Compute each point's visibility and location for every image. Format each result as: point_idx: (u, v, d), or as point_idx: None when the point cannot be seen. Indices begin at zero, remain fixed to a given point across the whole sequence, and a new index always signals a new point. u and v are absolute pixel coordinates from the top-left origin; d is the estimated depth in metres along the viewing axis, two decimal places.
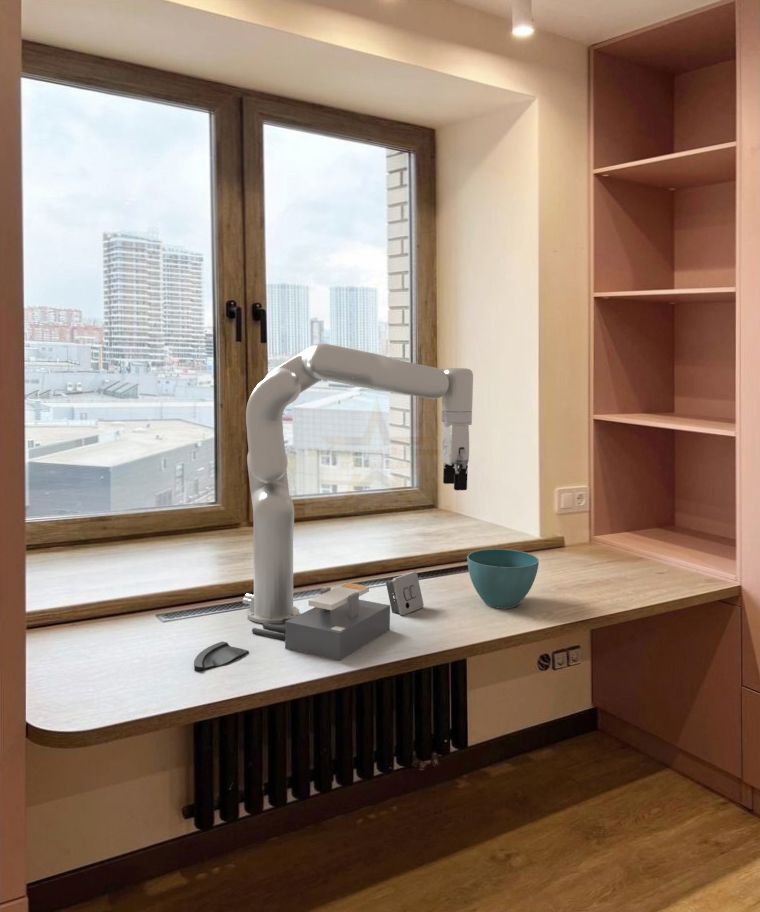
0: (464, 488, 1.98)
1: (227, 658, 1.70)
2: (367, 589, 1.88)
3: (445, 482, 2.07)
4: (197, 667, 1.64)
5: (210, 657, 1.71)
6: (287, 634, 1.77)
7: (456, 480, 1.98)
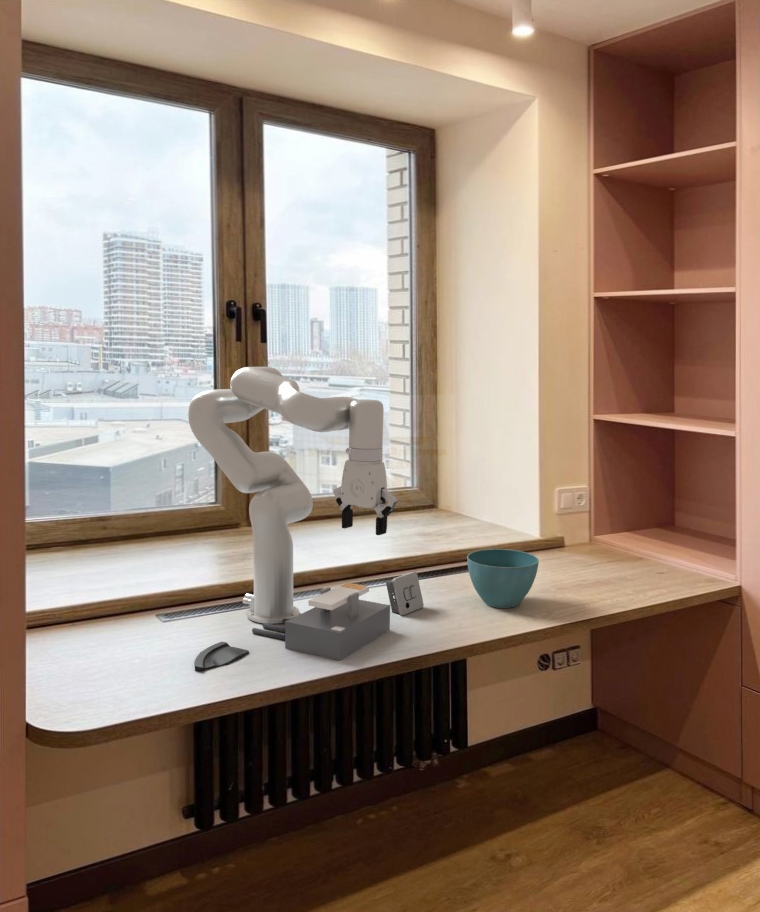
0: (384, 531, 1.81)
1: (227, 658, 1.70)
2: (367, 589, 1.88)
3: (345, 527, 1.85)
4: (198, 667, 1.64)
5: (210, 658, 1.70)
6: (287, 634, 1.77)
7: (379, 524, 1.79)
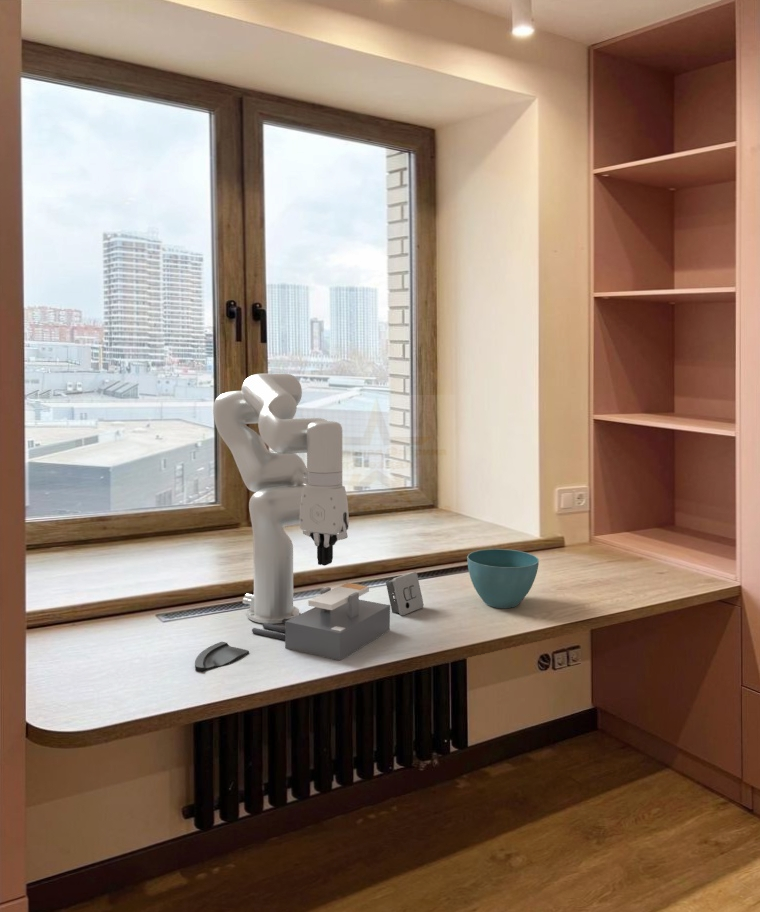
0: (330, 561, 1.76)
1: (228, 658, 1.70)
2: (367, 589, 1.88)
3: (321, 563, 1.74)
4: (198, 668, 1.64)
5: (210, 658, 1.70)
6: (287, 634, 1.77)
7: (325, 554, 1.74)
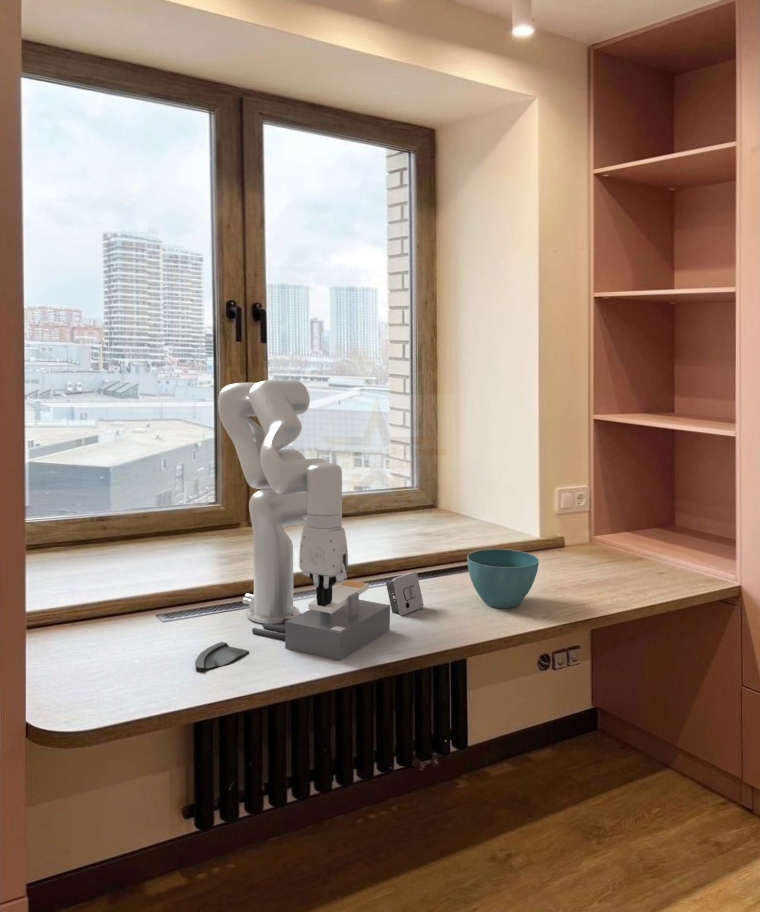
0: (329, 601, 1.77)
1: (228, 658, 1.70)
2: (367, 586, 1.87)
3: (320, 603, 1.76)
4: (199, 668, 1.64)
5: (211, 658, 1.70)
6: (287, 634, 1.77)
7: (324, 595, 1.75)
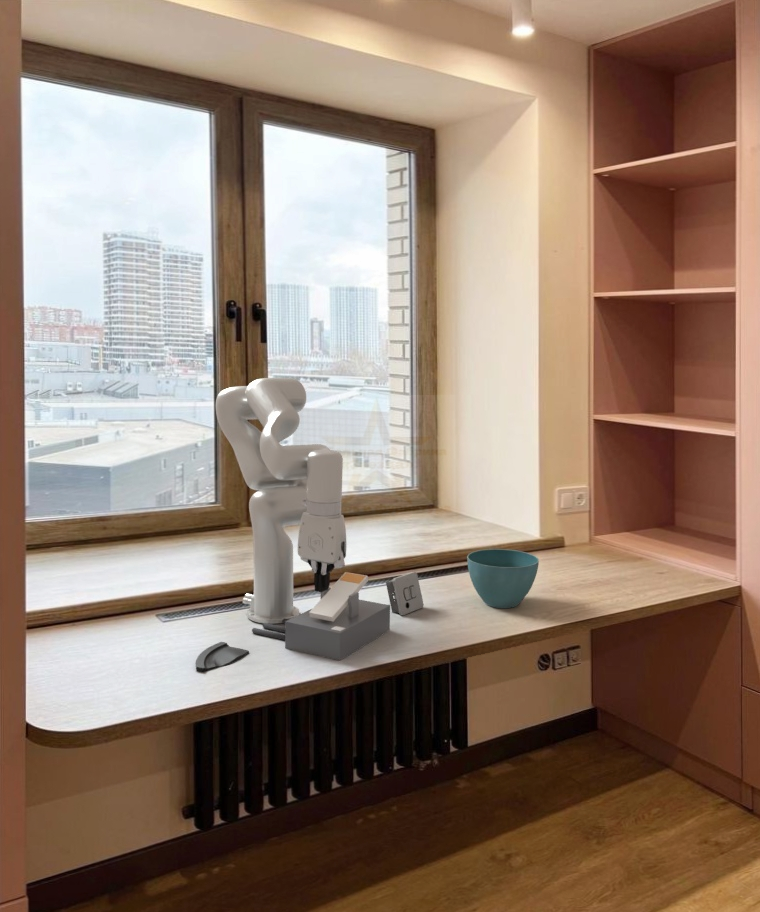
0: (327, 587, 1.78)
1: (228, 658, 1.70)
2: (366, 578, 1.87)
3: (318, 589, 1.76)
4: (199, 668, 1.64)
5: (211, 658, 1.70)
6: (287, 634, 1.77)
7: (322, 581, 1.76)
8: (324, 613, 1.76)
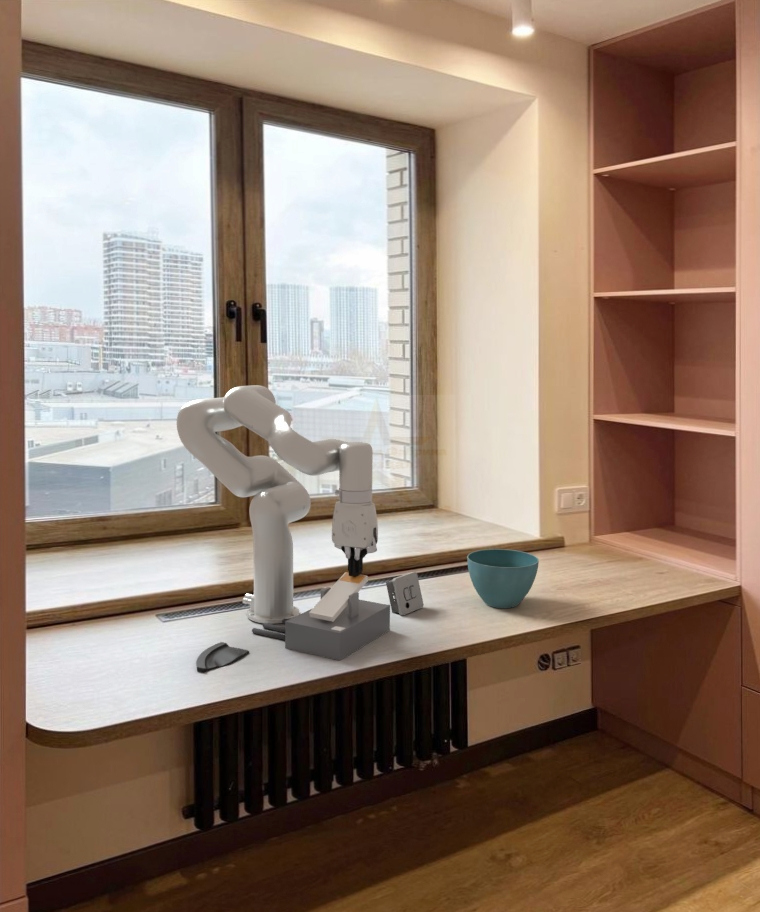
0: (360, 572, 1.88)
1: (228, 658, 1.70)
2: (366, 578, 1.87)
3: (352, 574, 1.87)
4: (200, 668, 1.64)
5: (211, 658, 1.70)
6: (287, 634, 1.77)
7: (355, 566, 1.86)
8: (324, 613, 1.76)
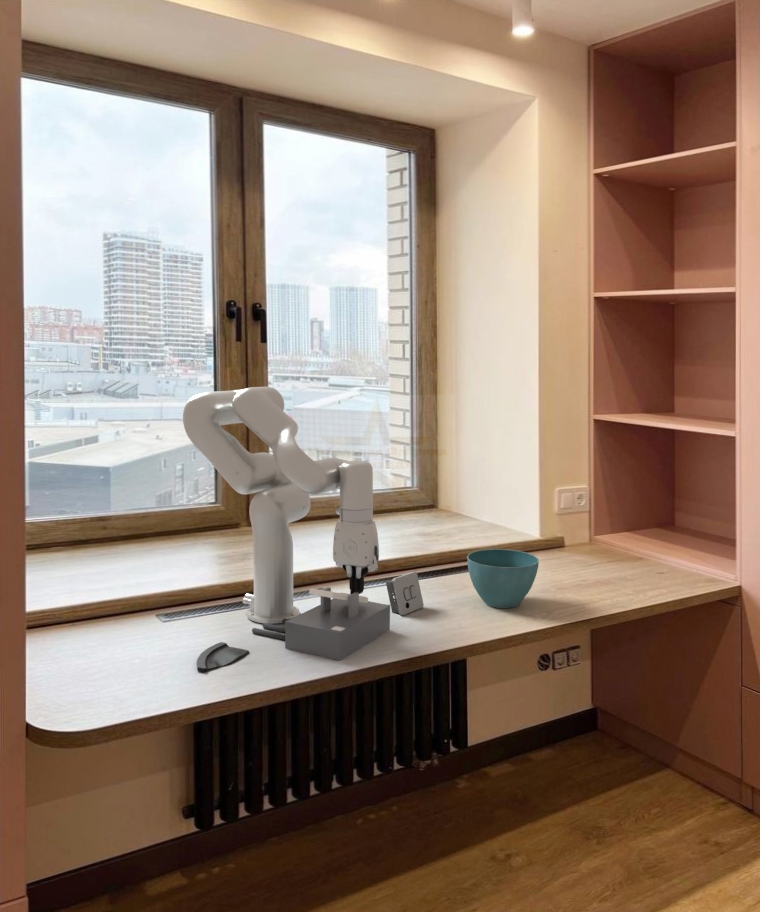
0: (361, 591, 1.89)
1: (229, 658, 1.70)
2: (366, 599, 1.88)
3: None
4: (201, 668, 1.64)
5: (211, 658, 1.70)
6: (287, 634, 1.77)
7: (357, 584, 1.87)
8: (325, 591, 1.76)
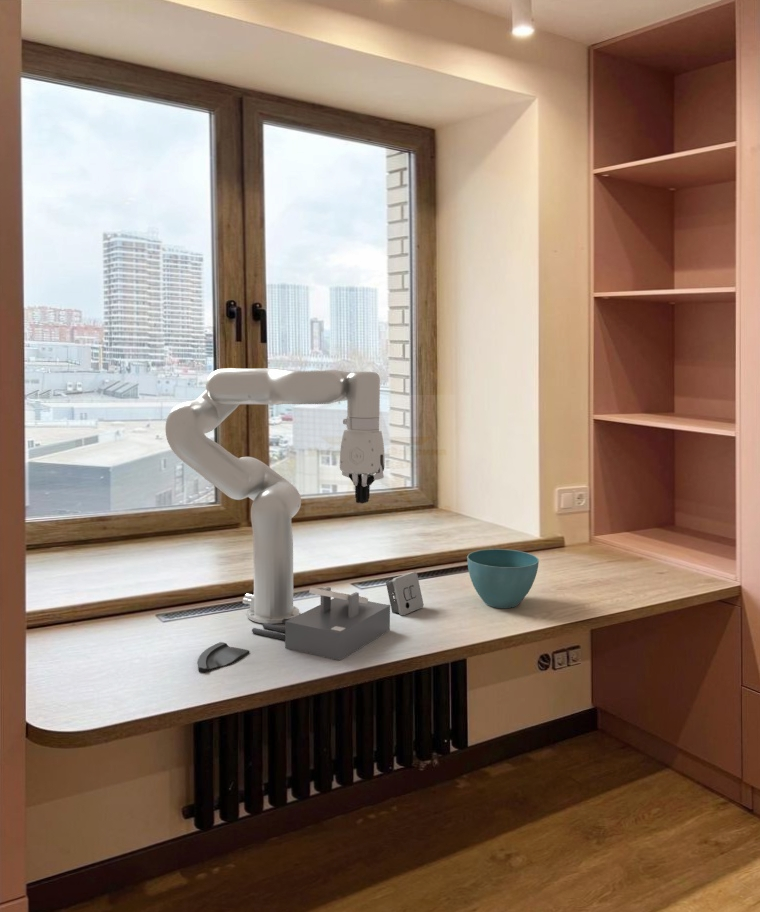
0: (367, 500, 1.93)
1: (229, 658, 1.70)
2: (366, 600, 1.88)
3: (359, 501, 1.91)
4: (202, 668, 1.64)
5: (212, 658, 1.70)
6: (287, 634, 1.77)
7: (362, 493, 1.91)
8: (325, 590, 1.76)
